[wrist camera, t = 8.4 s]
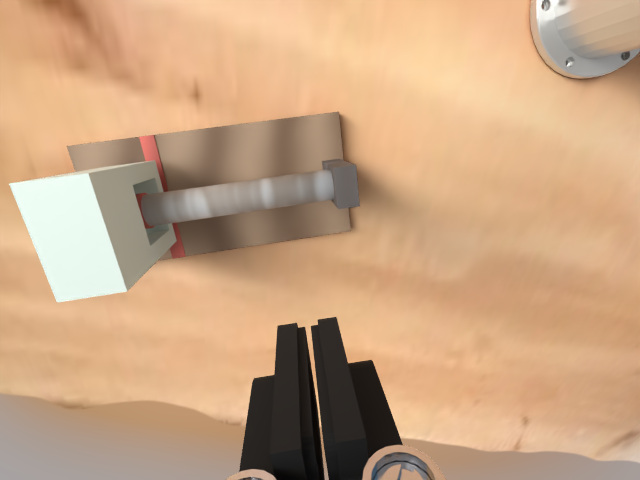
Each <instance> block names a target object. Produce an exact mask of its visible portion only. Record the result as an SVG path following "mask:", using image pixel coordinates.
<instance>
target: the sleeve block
mask: <svg viewBox="0 0 640 480" xmlns="http://www.w3.org/2000/svg"><path fill="white" fill-rule="evenodd" d="M9 185H10V187H11V190H12V192H13V194H14V197H15V199H16V202H17V204H18V207H19V209H20V212H21V214H22V217H23V219H24V222H25V224H26V227H27V229H28V232H29V234H30V237H31V239H32V241H33V244H34V246H35V249H36V251H37V254H38V256H39V259H40V261H41V264H42V266H43V269H44V271H45V274H46V276H47V279H48V281H49V284H50V286H51V288H52V291H53V293H54V296H55V298H56V301H57V302H63V301H70V300H76V299H82V298H89V297H95V296H101V295H108V294H114V293H120V292H127V291H128V290H129V289H130V288H131V287H132V286H133V285H134V284H135V283H136V282H137V281H138V280H139V279H140V278H141V277H142V276H143V275H144V274H145V273H146V272H147V271H148V270H149V269H150V268H151V267H152V266H153V265H154V264H155V263H156V262H157V261H158V260H159V259H160V257H161V256H162V255H163V254H164V253H165V252H166V251H167V250H168V249H169V248H170V247H171V246H172V245H173V244H174V243H175V242H176V241H177V240H176V236H175V233H174V229H173V225H172V223H170V224H163V225H156V226H155V227H154V228H149V229H145V226H144V222H143V219H142V216H141V212H140V209H139V205H138V202H137V199H136V195H135V194H139V193H147V194H154V193H161V192H163V188H162V184H161V180H160V177H159V173H158V169H157V165H156V162H155V160H153V161H146V162H138V163H131V164H123V165H116V166H108V167H101V168H96V169H90V170H84V171H79V172H73V173H67V174H62V175H56V176H50V177H44V178H39V179H33V180H27V181H22V182H16V183H10V184H9Z"/></svg>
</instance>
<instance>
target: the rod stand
mask: <svg viewBox="0 0 640 480" xmlns="http://www.w3.org/2000/svg"><path fill="white" fill-rule="evenodd" d="M67 149H68V151H69V154H70V157H71V160H72V163H73V166H74V169H75V172H79V171H84V170H90V169H96V168H101V167H108V166H116V165H123V164H131V163H138V162H146V161H153V160H155V162H156V165H157V169H158V173H159V177H160V180H161V184H162V188H163V192H161V193H154V194H147V193H139V194H135V195H136V199H137V202H138V205H139V209H140V212H141V216H142V219H143V222H144V226H145V229H149V228H154V227H155V226H156V225H163V224H170V223H172V225H173V229H174V233H175V236H176V240H177V241H176V242H175V243H174V244H173V245H172V246H171V247H170V248H169V249H168V250H167V251H166V252H165V253H164V254H163V255H162V256H161V257H160V259H159V260H164V259H171V258H179V257H185V256H190V255H197V254H203V253H210V252H217V251H223V250H230V249H236V248H243V247H249V246H256V245H262V244H269V243H276V242H282V241H289V240H295V239H302V238H308V237H315V236H321V235H328V234H335V233H341V232H348V231H351V229H350V219H349V209H348V208H351V207H357V206H360V204H359V193H358V182H357V171H356V165H355V164H352V163H349V162H347V161H344V159H343V149H342V139H341V129H340V119H339V112H333V113H325V114H317V115H309V116H301V117H293V118H285V119H277V120H269V121H262V122H254V123H246V124H238V125H230V126H222V127H214V128H206V129H198V130H191V131H183V132H175V133H167V134H159V135H151V136H143V137H135V138H127V139H119V140H112V141H104V142H96V143H88V144H80V145H72V146H67Z"/></svg>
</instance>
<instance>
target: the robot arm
mask: <svg viewBox="0 0 640 480" xmlns="http://www.w3.org/2000/svg"><path fill="white" fill-rule="evenodd" d="M530 23H531V31H532V35H533V40H534V43H535V45H536V47H537V50H538V52H539V54H540V55H541V57H542V58H543V59H544V61H545V62H546V64H548V65H549V66H550V67H551V68H552V69H553V70H555V71H556V72H558V73H560V74H562V75H564V76H567V77H571V78H576V79H586V78H592V77H598V76H602V75H605V74H608V73H611V72H614V71H615V70H617V69H619V68H621V67H623V66H624V65H626V64H627V63H628V62H629V61H631V60H632V59H633V58H634V57H636V55H637V54H638V53H639V52H640V0H531V7H530ZM311 332H312V341H313V350H314V360H315V369H316V378H317V388H318V397H319V406H320V416H321V425H322V434H323V442H324V450H325V457H326V463H327V469H328V476H329V480H446V478H445V477H444V475H443V473H442V472H441V470H440V468H439V467H438V466H437V465H436V463H435V462H434V461H433V460H432V459H431V458H430V457H429V456H427V455H426V454H425V453H423V452H422V451H420V450H418V449H415V448H413V447H410V446H404V445H403V444H402V442H401V439H400V436H399V433H398V430H397V428H396V425H395V422H394V419H393V416H392V414H391V411H390V408H389V405H388V402H387V400H386V397H385V394H384V391H383V388H382V386H381V383H380V380H379V377H378V375H377V372H376V369H375V366H374V364H373V361H372V360H368V361H361V362H355V363H349V364H348V362H347V358H346V354H345V350H344V346H343V342H342V338H341V334H340V330H339V326H338V322H337V318H336V317H333V318H326V319H319V320H318V325H314V326H311ZM226 480H325V479H324V468H323V458H322V448H321V438H320V428H319V418H318V409H317V401H316V395H315V388H314V382H313V375H312V369H311V362H310V356H309V349H308V343H307V336H306V330H305V327H301V328H298V325H297V323H293V324H286V325H280V326H278V328H277V344H276V360H275V375H272V376H266V377H259V378H254V380H253V383H252V389H251V396H250V403H249V409H248V416H247V423H246V430H245V437H244V444H243V450H242V457H241V464H240V471H239V472H238V473H236V474H234V475H232V476H230V477H228V478H227V479H226Z"/></svg>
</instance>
